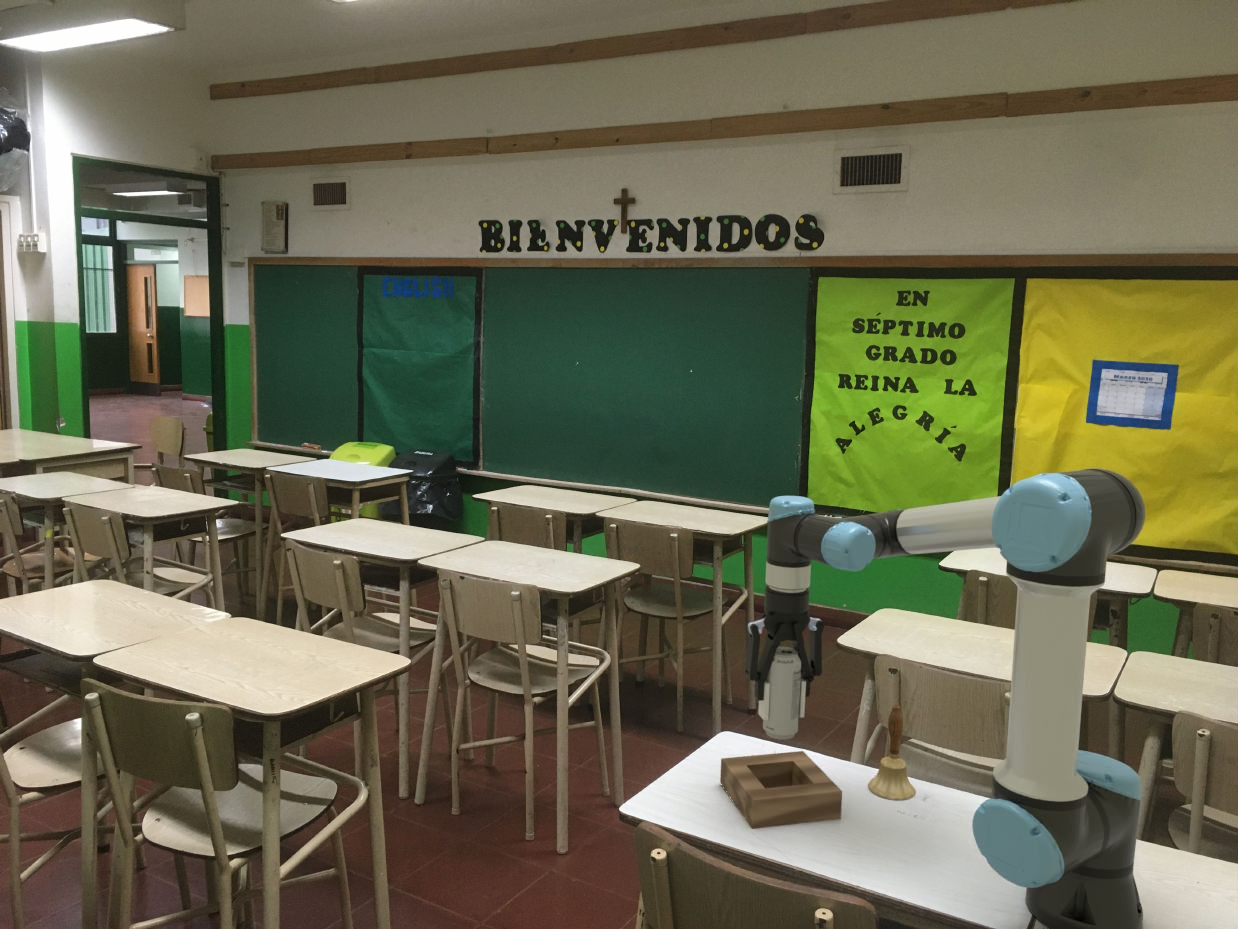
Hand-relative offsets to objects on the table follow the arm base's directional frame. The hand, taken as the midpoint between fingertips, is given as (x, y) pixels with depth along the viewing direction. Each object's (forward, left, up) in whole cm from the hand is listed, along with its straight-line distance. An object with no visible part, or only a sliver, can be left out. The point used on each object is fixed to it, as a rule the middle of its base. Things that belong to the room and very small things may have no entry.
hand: (781, 715), depth 169 cm
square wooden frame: (0, 0, -16) cm, 16 cm away
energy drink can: (0, 0, -4) cm, 4 cm away
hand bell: (0, -22, -16) cm, 27 cm away
